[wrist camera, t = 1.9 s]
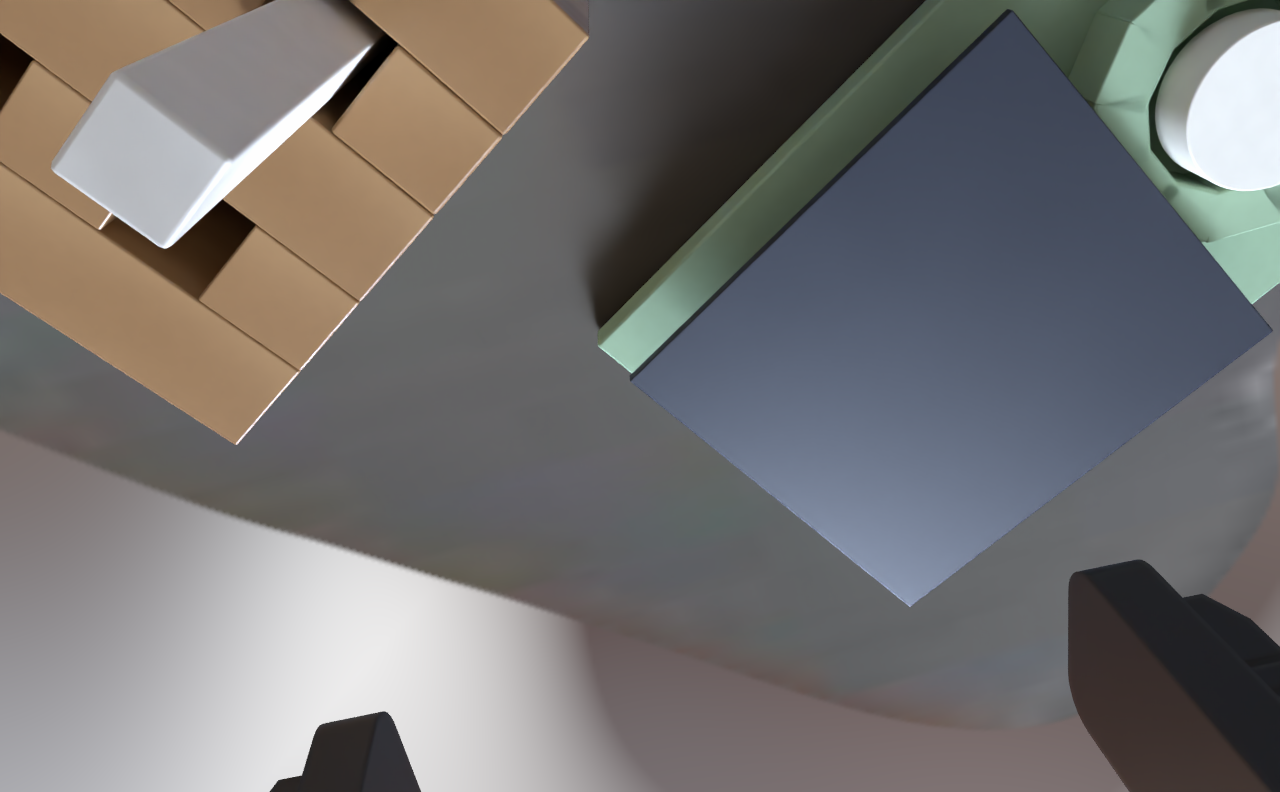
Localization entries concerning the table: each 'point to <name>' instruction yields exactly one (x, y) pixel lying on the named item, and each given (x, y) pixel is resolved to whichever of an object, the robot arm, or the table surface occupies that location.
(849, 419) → the tablet screen
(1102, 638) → the robot arm
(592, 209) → the table surface
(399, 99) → the pen stand
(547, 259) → the table surface
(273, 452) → the table surface
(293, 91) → the grey square rod
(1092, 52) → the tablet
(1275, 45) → the button
